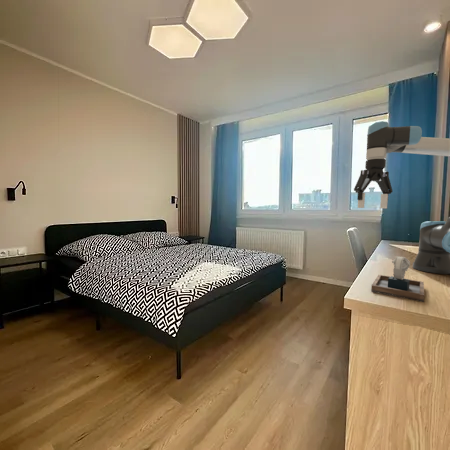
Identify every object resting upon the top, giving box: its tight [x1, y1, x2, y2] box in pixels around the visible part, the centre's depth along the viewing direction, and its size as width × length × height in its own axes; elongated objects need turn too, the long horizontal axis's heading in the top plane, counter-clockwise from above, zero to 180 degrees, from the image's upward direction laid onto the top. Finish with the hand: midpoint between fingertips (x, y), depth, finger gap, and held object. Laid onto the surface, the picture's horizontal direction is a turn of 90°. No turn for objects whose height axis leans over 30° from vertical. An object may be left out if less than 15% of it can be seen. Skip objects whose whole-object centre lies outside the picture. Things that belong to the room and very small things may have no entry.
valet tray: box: [370, 274, 425, 303], centre depth 86 cm, size 18×14×2 cm
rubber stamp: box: [388, 255, 411, 291], centre depth 86 cm, size 6×8×11 cm
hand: (372, 208), depth 108 cm, fingers open, 13 cm apart
